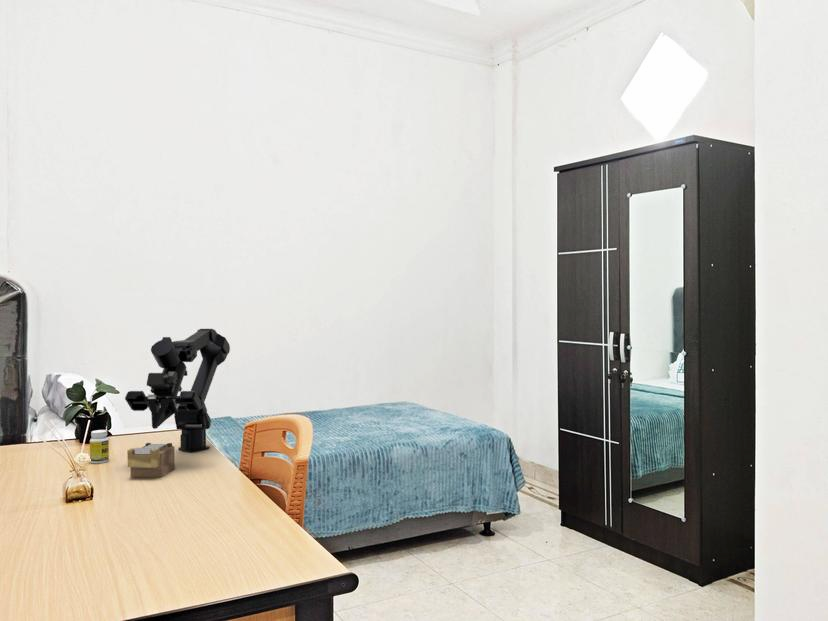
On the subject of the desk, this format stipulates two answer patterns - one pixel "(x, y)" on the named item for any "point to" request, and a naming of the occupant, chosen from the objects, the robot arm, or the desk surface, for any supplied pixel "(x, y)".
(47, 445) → the desk surface
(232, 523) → the desk surface
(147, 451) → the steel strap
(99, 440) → the supplement bottle
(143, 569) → the desk surface
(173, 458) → the walnut box
